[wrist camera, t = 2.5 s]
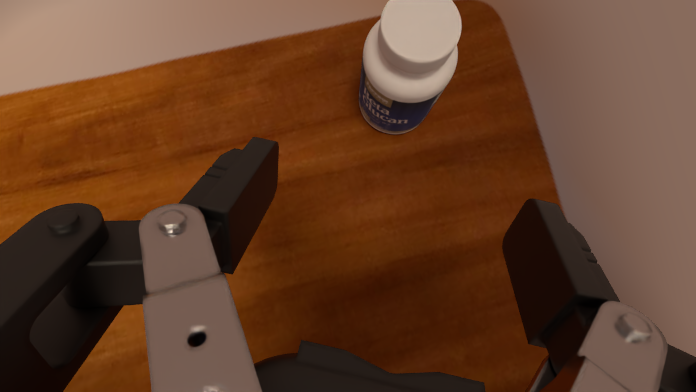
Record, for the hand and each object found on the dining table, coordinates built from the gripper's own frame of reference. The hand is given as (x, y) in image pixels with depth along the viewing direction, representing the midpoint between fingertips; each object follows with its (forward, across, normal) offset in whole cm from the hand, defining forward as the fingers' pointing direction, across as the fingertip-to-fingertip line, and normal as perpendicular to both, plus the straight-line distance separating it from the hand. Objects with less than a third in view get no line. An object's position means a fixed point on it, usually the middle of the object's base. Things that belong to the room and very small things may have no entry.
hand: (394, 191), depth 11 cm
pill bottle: (+16, 0, +4) cm, 17 cm away
